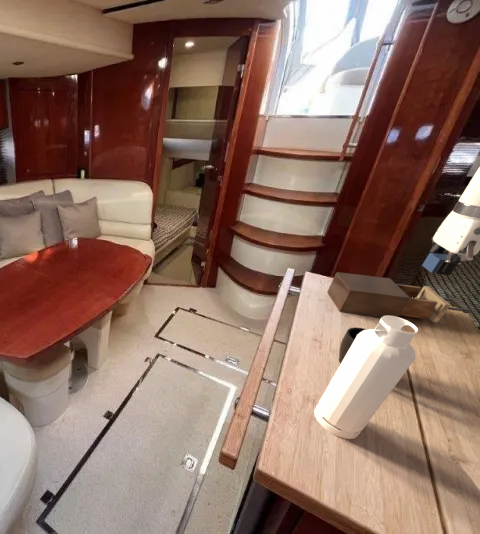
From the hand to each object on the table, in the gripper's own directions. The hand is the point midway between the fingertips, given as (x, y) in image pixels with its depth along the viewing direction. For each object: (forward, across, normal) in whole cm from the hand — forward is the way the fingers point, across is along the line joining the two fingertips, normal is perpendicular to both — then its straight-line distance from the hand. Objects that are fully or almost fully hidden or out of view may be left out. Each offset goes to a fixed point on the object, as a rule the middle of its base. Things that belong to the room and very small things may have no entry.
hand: (436, 269), depth 89 cm
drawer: (+16, +2, -2) cm, 16 cm away
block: (0, 0, 0) cm, 0 cm away
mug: (+17, -31, +25) cm, 44 cm away
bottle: (+17, -49, +36) cm, 63 cm away
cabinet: (+17, +2, +12) cm, 21 cm away
